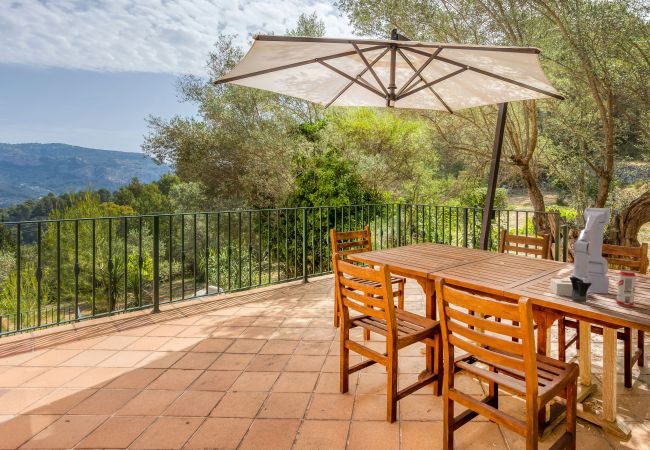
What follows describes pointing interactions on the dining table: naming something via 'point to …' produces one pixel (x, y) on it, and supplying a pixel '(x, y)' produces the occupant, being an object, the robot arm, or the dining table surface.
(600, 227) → the robot arm
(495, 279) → the dining table surface
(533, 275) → the dining table surface
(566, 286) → the box
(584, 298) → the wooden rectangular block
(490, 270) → the dining table surface
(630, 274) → the beer can
